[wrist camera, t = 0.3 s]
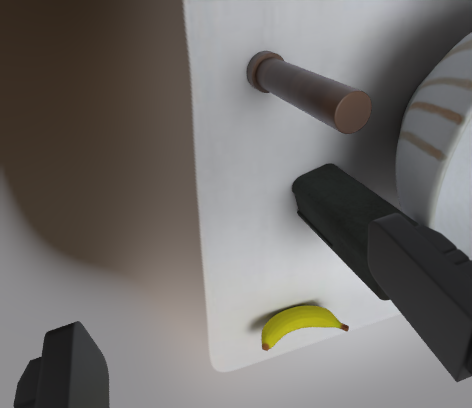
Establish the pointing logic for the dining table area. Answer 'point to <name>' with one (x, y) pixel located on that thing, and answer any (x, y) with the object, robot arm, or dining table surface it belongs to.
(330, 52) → the dining table surface
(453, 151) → the dishware bowl
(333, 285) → the dining table surface
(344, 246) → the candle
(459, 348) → the robot arm
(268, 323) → the fruit
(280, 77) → the brown flanged cylinder
